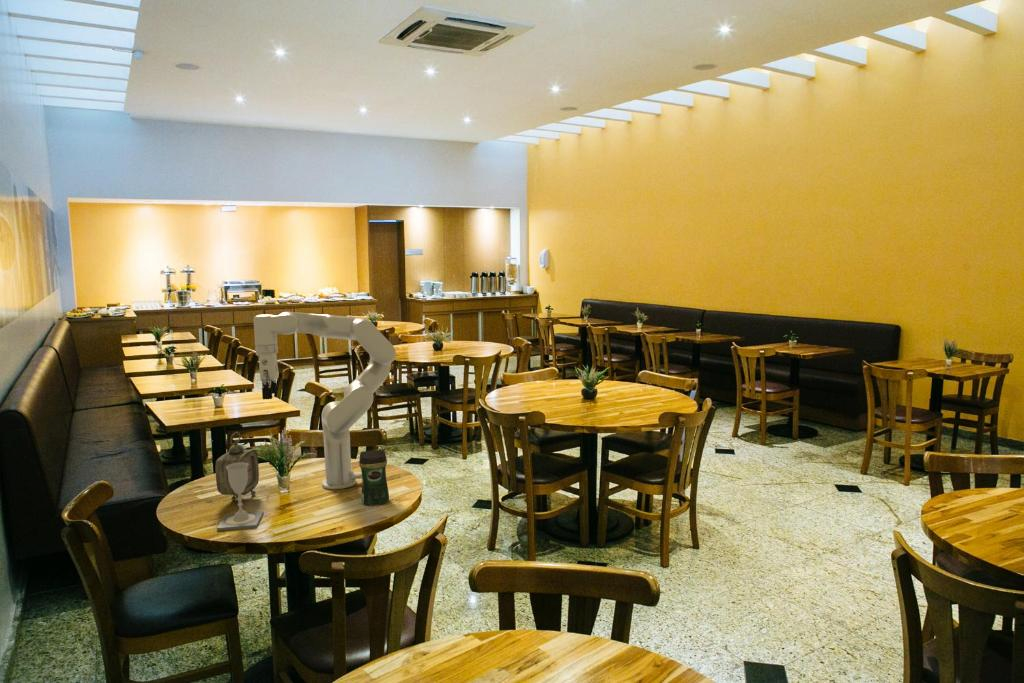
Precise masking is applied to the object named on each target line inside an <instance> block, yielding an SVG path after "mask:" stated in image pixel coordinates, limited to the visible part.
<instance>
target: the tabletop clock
mask: <svg viewBox="0 0 1024 683" xmlns="http://www.w3.org/2000/svg"><path fill="white" fill-rule="evenodd" d="M236 435H238V439H235V440H232V439H233V437H234V436H236ZM241 436H242V435H241V433H240V431H235V432H233V433H232V434H231V436H230V439H229V442H230V445H231V446H230V447H229V448H228V451H227V452H226V453H224V454H222V455H221V456H220V457H218V458H217V459H216V461H215V467H214V469H215V483H216V488H217V492H218V493H219V494H221V495H223V496H229V495H230V496H231V499H230V500H231V501H232V502H233V501H234V500H235V501H236V500H237V499H238V494H236V493H235V492H234V491H233V489H232V488H231V485H230V483H229V479H228V470H227V468H226V466H228V465H230V464H233V463H238V462H245V463H248V467H247V472H248V481H247V484H246V487H245V489H244V492H243V493H241V496H246V495H247V494H249V493H250V495H252V496H254V495H256V492H257V491H255V490H254V489H255V488H256V487H257V486H258V484H259V481H260V480H259V478H260V468H259V458H258V454H257V453H258V452H257V449H245V448H244V446H243V445H241V444H239V443H240V441H241V438H242V437H241ZM232 441H233V442H232ZM235 501H234V502H235ZM238 503H239V502H238V500H237V502H236V505H237V507H239V506H238Z"/></svg>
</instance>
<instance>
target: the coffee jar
mask: <svg viewBox="0 0 1024 683" xmlns="http://www.w3.org/2000/svg"><path fill="white" fill-rule="evenodd" d="M358 464H359V468H360V471H361V474H362V479H361V490H360V491H361V496H360V497H361V498H360V500H361V503H362V504H363V505H364V506H377V505H382V504H386V503H388V502H389V500H390V494H389V486H388V480H387V474H386V473H387V472H386V470H387V469H386V467H387V464H388V459H387V455H386V452H385V450H384V449H383V448H382V449H373V450H365V451H360V452H359V460H358Z"/></svg>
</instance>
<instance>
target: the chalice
mask: <svg viewBox="0 0 1024 683" xmlns="http://www.w3.org/2000/svg"><path fill="white" fill-rule="evenodd" d="M247 467H248V463H245V462H238V463H233V464H230V465H228V466H226V468H227V470H228V479H229V483H230V485H231V488H232V489H233V491H234V492H235V493H236V494H238V499H237V498H236V500H238V501H237V502H239V503H238V506H237V507H238V511H236V512H234V513H235V516H234V519H233V521H235V522H242V521H245V520H248V519H249V518H250V517H249V516H248V514H247V512H248V511H246V510H244V509H243V505H244V503H243V502H242V501H243V498H242V495H241V493H243V492H244V489H245V487H246V484H247V481H248V472H247Z"/></svg>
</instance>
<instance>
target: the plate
mask: <svg viewBox="0 0 1024 683" xmlns="http://www.w3.org/2000/svg"><path fill="white" fill-rule="evenodd" d="M246 512H247V514H248V516H249V517H250V518H249V519H248V520H245V521H242V522H235V521H233V519H234V516H235V513H236V512H233V513H225V514H224V517H223V518H222V519H221V520H220V522H219V524H218V526H217V527H216V531H217V530H218V531H217V532H220V531H219V530H225V531H234V529H237V530H244V529H245V530H246V528H249V529H257V527H258V526H259V524H260V522H261V520H262V518H263V516H264V510H260V511H246ZM262 515H263V516H262ZM261 517H262V518H261Z"/></svg>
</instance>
